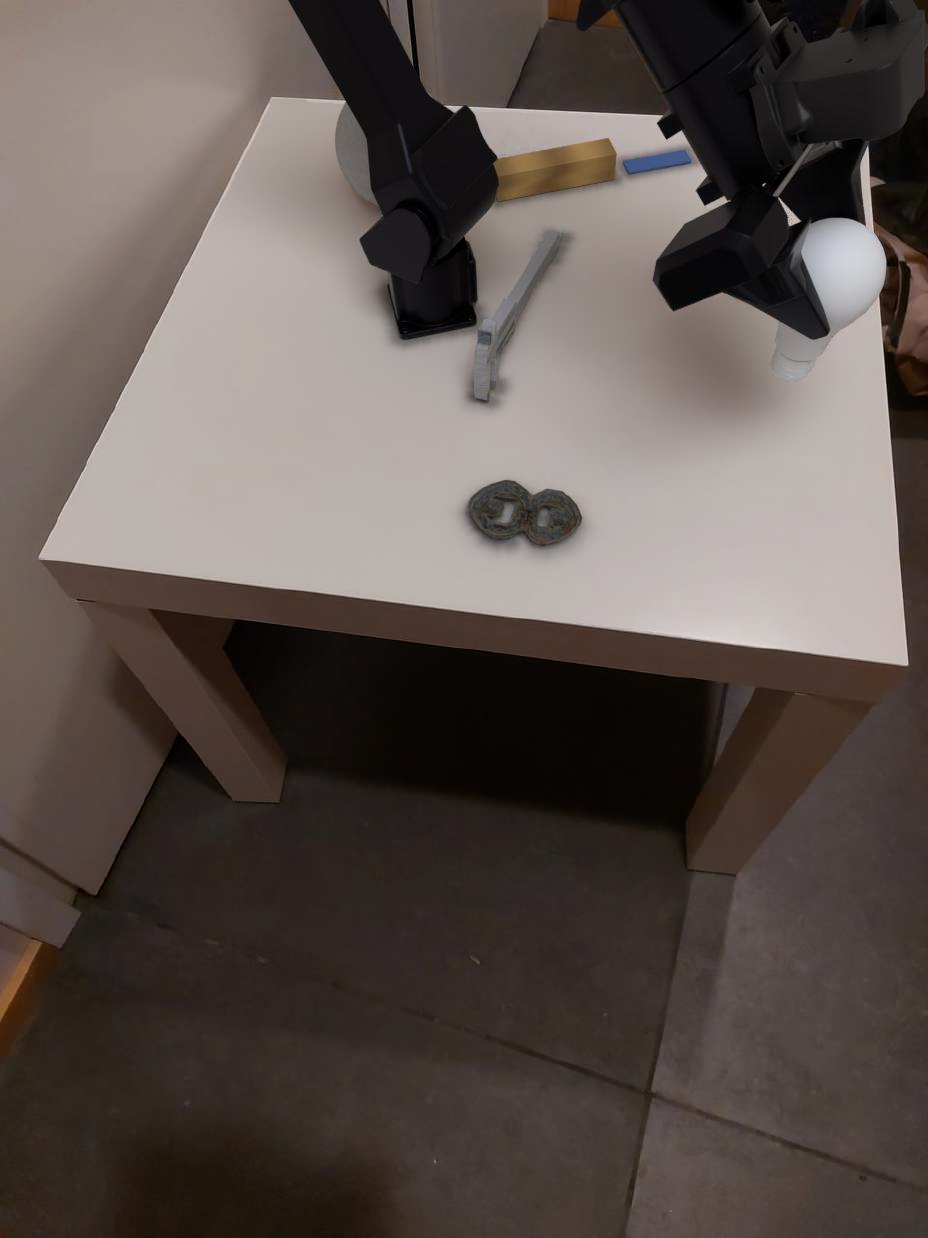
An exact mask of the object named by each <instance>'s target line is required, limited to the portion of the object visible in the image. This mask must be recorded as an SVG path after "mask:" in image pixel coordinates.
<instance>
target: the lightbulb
mask: <svg viewBox="0 0 928 1238" xmlns="http://www.w3.org/2000/svg"><path fill="white" fill-rule="evenodd" d="M801 253H802V257H803V259H804V262H805V264H806V267H807V269H808V272H809V274H810V276H811V279H812V281H813V284H814V286H815V289H816V291H817V293H818V296H819V298H820V301H821V303H822V306H823V308H824V311H825V314H826V317H827V320H828V323H829V327H830V332H829V334H828V335H827V336H826V337H823V338H819V339H816V340H811V339H809V338H807V337H806V336H804V335H802V334H800V333H799V332H797V331H795V330H794V329H792V328H790V327H788V326H787V325H785V324H783V323H781V322H780V321H778V325H777V330H776V334H775V338H774V343H775V348H774V351H773V355H772V358H771V363H770V366H771V368H770V369H771V370H772V372H773V374H774V375H775V376H776V377H778V379H781V380H782V381H785V382H799V381H802V380H804V379H805V378H807V377H808V375H809V374H810V373H811V371H812V369H813V368H814V366H815V363H816V362H817V360H818V358H820V357H821V356H822V355H823V354H824V353H825V351H826V349H827V347H828V346H829V344H830V342H831V341H832V340H833V338H834V337H835V336H836V335H837V334H838V333H840V332H841V331H843V330H844V329H846V328H847V327H849V326H850V325H851V324H852V323H854V322H855V321H857V320H858V319H859V318H861V317H862V316H863V315H865V314H866V313H867V312H868V311H869V310H870V309H871V307H872V306H873V305H874V303H876V301H877V300H878V298H879V296H880V294H881V292H882V290H883V288H884V284H885V280H886V276H887V275H886V274H887V258H886V253H885V249H884V247H883V245H882V242H881V241H880V239H879V237H878V236H877V235H876V234H875V232H874V231H873V230H871V229H870V228H869V227H868V226H867V225H866V226H864V225H863V224H861V223H859V222H857V221H854V220H851V219H846V218H828V219H823V220H819V221H817V222H814V223H812V224H810V227H809V230H808V232H807V235H806V238H805V241H804V244H803V247H802V251H801Z"/></svg>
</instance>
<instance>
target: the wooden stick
mask: <svg viewBox="0 0 928 1238" xmlns="http://www.w3.org/2000/svg"><path fill="white" fill-rule="evenodd" d="M617 156H618V153H617V151H616V149H615V147H614V144H612V141H611V140H610V138H609V137H606V138H605V137H604V138H601V139H595V140H590V141H584V142H580V143H574V144H567V145H563V146H557V147H553V148H546V149H540V150H536V151H531V152H525V153H520V154H515V155H510V156H504V157H498V159H497V160H496V161H495V162H494V163H493V164H494V166H495V169H496V172H497V175H498V180H499V187H498V189H497V194H496V201H497V202H504V201H508V200H513V199H514V200H515V199H520V198H525V197H530V196H535V195H541V194H545V193H551V192H556V191H561V190H566V189H572V188H577V187H583V186H588V185H593V184H599V183H603V182H608V181H613V180H614V179H615V175H616V164H617V158H618V157H617Z"/></svg>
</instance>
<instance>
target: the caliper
mask: <svg viewBox="0 0 928 1238" xmlns="http://www.w3.org/2000/svg"><path fill="white" fill-rule="evenodd" d="M563 236H564V232H561V231H557V230H548V231H547V232H546V234H545V236H544V237H543V239H542V241H541V242H540V244H539V246H538V247H537V249H536V250H535V252H534V254H533V256H532V257H531V259H530V260H529V262H528V263H527V265H526V267H525V268H524V270H523V272H522V273H521V275H520V276H519V278H518V279H517V281H516V283H515V285H514V286H513V288H512V290H511V291H510V293H509V295H508V296H507V298H503V299H502V301H501V302H500V304H499V306H498V308H497V309H496V311H494V314H493V316H491V319H485V318H483V320H482V325H481V327H478V328H477V339H476V340H477V342H476V344H475V345H474V353H473V356H474V357H473V367H472V368H473V369H472V374H473V391H474V392H473V393H474V398H475V399H480V400H483V401H489V400H490V390H496V387H497V381H498V374H499V369H500V361H501V355H502V349H503V347H504V346H506V345H507V344H508V343H509V341H510V339H511V337H512V335H514V333H515V327H516V322H517V319H518V318H519V317H520V314H521V313H522V311H523V309H524V308H525V306H526V305H527V302H528V301H529V299H530V297H531V295H532V294H533V292H534V291H535V289H536V288H537V285H538V284H539V282H540V281H541V279H542V277H543V275H544V273H545V272H546V270H547V269H548V267H549V265H550V264H551V262H552V261H553V259H554V257H555V255H556V253H557V252H558V250H559V245H560V242H561V240H562V238H563Z"/></svg>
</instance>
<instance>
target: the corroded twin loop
mask: <svg viewBox="0 0 928 1238" xmlns="http://www.w3.org/2000/svg"><path fill="white" fill-rule="evenodd" d="M504 500H506V501H509V502H515V501H516V502H515V505H514V508H513V512H512V515H511V516H512V517H511V519H510V521H509V522H501V521H494V520H492V519H495V518H496V517H501V516H502V514H503V511H504V509H505V501H504ZM542 507H544V508H546V509H549V510H550V512H549V516H548V521H547V526H548V527H547V526H541V525H539V524H538V523H537V522H538V519H539V516H540V513H541V508H542ZM467 508H468V512H469V515H470V516H471V519H472V520H473V521H474V523H475V524H476V525H477V526H478V528H479V529H480V530H481V531H482V532H484V533H485V534H486V535H487V536H488V537H490V538H491V539H493V540H497V539H501V540H502V539H504V540H509V539H511V538H513V537H514V536H515V535H517V534H518V533H520V532H521V533H522V532H524V533H525V534H526V535H527V537H528V538H529V539H530V540H531V542H533V543H535V544H536V545H538V546H547V545H550V544H557V543H558V542H560V541H562V540H565V539H567V538H569V537H571V535H572V534H573V533H574V532H575V531H576V530H577V529H578V528H579V527H580V526H581V524H582V522H583V516H582V513H581V511H580V508H579V506H578V504H577V503H576V502H575V501H574V499H573V498H572V497H571V496H570V495H568V494H566V493H565V492H564V491H562V490H559V489H552V488H545V489H542V490H541V491H539V492H537V493H533V494H532V493H530V491H529V490H528V489H527V488H525V487H524V486H523V485H522V484H520V483H519V482H517V481H516V480H511V479H503V480H500V481H497V482H493V483H490V484H488V485H486V486H483V487H482V488H481V489H479V490H478V491H477V492H475V493H474V494H473V495H472V496H471V497H470V499H469V501H468V504H467Z"/></svg>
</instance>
